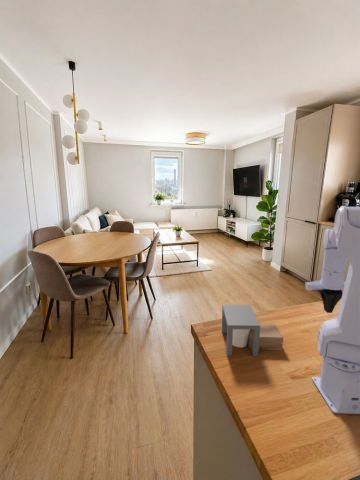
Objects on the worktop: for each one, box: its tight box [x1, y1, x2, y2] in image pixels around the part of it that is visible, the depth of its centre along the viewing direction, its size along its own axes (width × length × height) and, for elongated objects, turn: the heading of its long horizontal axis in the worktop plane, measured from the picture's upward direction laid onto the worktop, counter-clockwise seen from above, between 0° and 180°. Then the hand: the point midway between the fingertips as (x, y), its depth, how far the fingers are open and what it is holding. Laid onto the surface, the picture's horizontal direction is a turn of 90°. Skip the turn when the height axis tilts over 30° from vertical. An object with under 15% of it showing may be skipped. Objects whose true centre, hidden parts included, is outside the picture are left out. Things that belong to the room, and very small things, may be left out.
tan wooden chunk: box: [247, 323, 284, 351], centre depth 73 cm, size 7×10×4 cm
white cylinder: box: [232, 329, 250, 348], centre depth 73 cm, size 7×7×7 cm
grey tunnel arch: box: [221, 304, 261, 357], centre depth 73 cm, size 12×9×10 cm
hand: (327, 311), depth 72 cm, fingers closed
